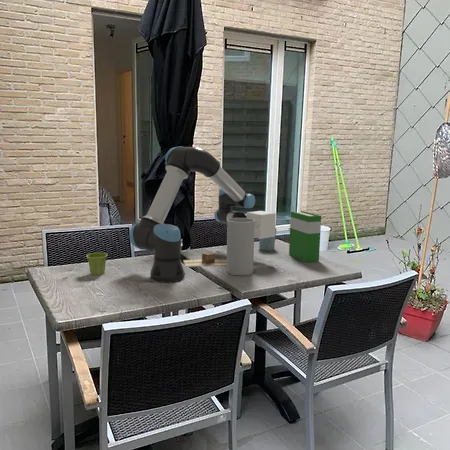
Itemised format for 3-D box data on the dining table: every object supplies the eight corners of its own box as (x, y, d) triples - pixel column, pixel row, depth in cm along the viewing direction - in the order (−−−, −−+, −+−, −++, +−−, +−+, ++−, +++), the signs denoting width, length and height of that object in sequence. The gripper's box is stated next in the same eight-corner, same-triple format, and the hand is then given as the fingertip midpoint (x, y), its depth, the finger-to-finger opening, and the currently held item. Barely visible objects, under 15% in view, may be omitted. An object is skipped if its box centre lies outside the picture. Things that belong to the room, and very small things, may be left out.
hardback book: (289, 254, 248) (290, 211, 244) (300, 253, 251) (302, 210, 247) (306, 262, 233) (309, 216, 228) (318, 261, 235) (321, 215, 231)
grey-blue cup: (257, 250, 258) (257, 229, 256) (258, 246, 268) (259, 226, 265) (275, 251, 256) (275, 230, 254) (276, 247, 266) (276, 227, 264)
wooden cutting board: (234, 266, 223) (234, 264, 223) (186, 267, 218) (186, 266, 218) (229, 259, 236) (229, 258, 236) (183, 261, 231) (183, 260, 231)
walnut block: (214, 262, 227) (214, 253, 226) (207, 264, 224) (207, 255, 223) (208, 260, 230) (209, 252, 229) (201, 262, 227) (201, 253, 226)
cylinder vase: (221, 272, 212) (221, 219, 207) (238, 267, 221) (239, 216, 216) (241, 278, 203) (242, 223, 199) (258, 272, 212) (260, 220, 208)
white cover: (274, 236, 230) (275, 213, 228) (260, 238, 223) (261, 214, 221) (260, 233, 238) (261, 210, 236) (246, 235, 231) (246, 212, 229)
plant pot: (102, 277, 202) (101, 258, 200) (83, 275, 203) (82, 256, 202) (111, 271, 211) (111, 253, 209) (93, 270, 212) (92, 252, 211)
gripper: (252, 223, 251) (281, 229, 234) (220, 227, 236) (249, 234, 220) (252, 210, 250) (282, 215, 233) (220, 213, 235) (250, 219, 218)
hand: (266, 224), depth 226 cm, fingers closed on white cover, 10 cm apart
